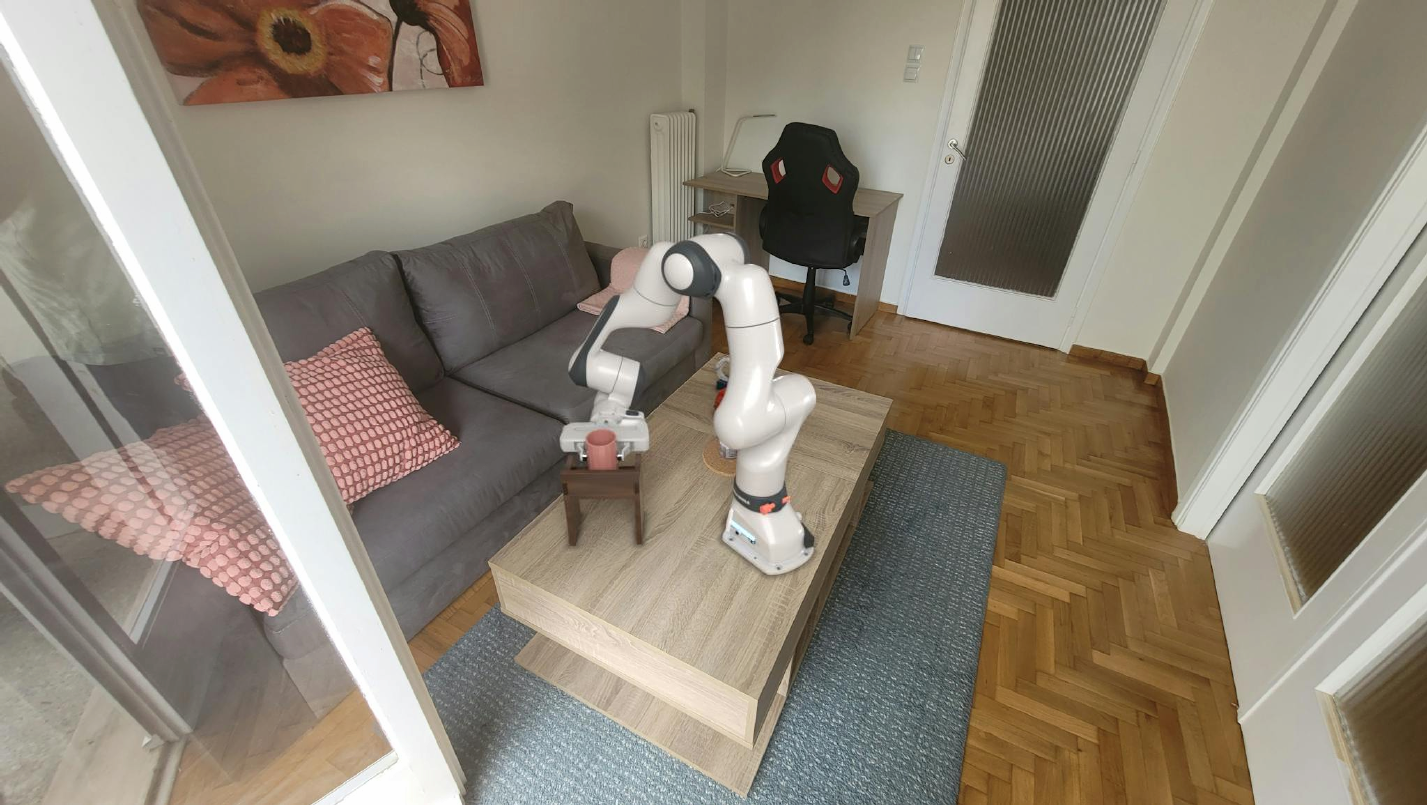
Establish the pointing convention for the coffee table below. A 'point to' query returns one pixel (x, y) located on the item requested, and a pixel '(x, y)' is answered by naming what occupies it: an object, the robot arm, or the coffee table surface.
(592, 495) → the dark wooden stand
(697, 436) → the coffee table surface
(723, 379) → the watch
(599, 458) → the cup
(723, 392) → the red clay folk toy
